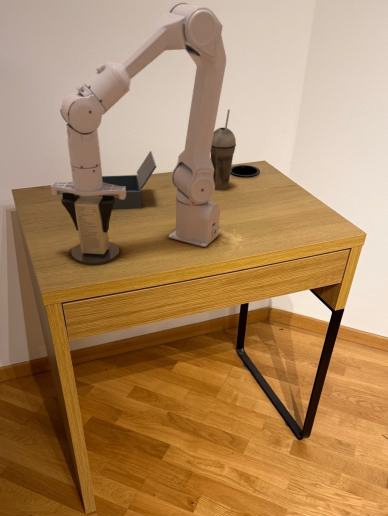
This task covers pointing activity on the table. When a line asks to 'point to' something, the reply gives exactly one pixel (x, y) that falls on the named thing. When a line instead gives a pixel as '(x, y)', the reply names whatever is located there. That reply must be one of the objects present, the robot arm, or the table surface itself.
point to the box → (91, 225)
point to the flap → (146, 169)
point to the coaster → (95, 255)
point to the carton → (131, 191)
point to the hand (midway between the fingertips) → (93, 229)
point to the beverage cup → (222, 155)
